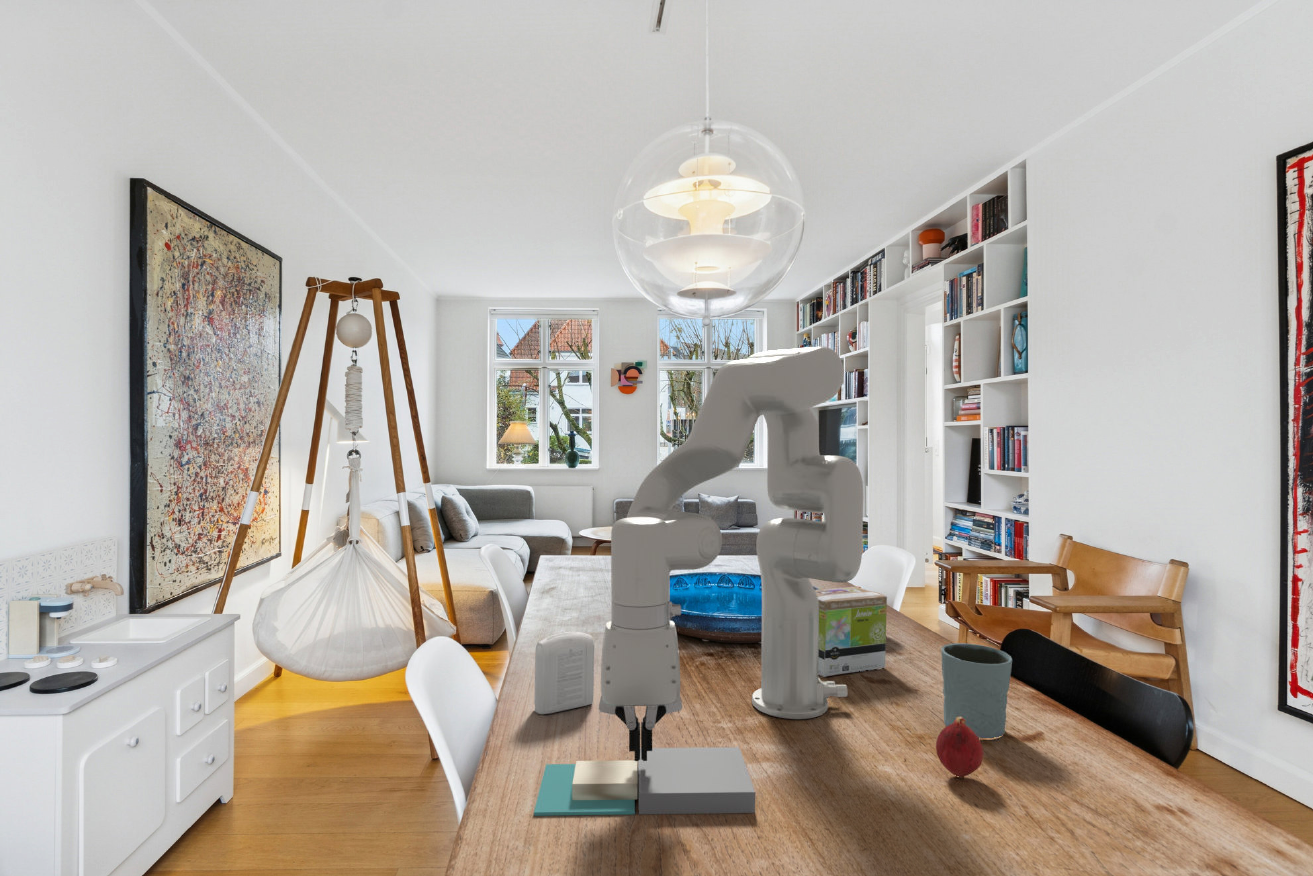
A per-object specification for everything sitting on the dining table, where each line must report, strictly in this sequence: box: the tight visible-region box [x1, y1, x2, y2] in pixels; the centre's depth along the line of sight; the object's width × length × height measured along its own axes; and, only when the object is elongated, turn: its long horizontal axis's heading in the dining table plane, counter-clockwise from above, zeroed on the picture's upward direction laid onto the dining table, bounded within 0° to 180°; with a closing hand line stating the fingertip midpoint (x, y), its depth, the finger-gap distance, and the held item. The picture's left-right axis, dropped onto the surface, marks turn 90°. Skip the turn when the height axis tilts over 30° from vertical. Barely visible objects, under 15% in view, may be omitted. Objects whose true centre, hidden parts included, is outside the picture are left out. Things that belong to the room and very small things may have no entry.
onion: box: [935, 716, 984, 778], centre depth 91 cm, size 6×6×8 cm
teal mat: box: [533, 763, 636, 817], centre depth 87 cm, size 12×12×1 cm
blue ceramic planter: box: [940, 642, 1013, 738], centre depth 107 cm, size 10×10×12 cm
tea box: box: [815, 586, 888, 678], centre depth 136 cm, size 15×10×15 cm, turn 114°
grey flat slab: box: [637, 746, 756, 815], centre depth 88 cm, size 14×12×2 cm
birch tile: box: [572, 759, 638, 800], centre depth 87 cm, size 8×6×2 cm
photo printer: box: [533, 631, 595, 716], centre depth 114 cm, size 10×4×12 cm, turn 123°
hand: (640, 756), depth 88 cm, fingers closed
